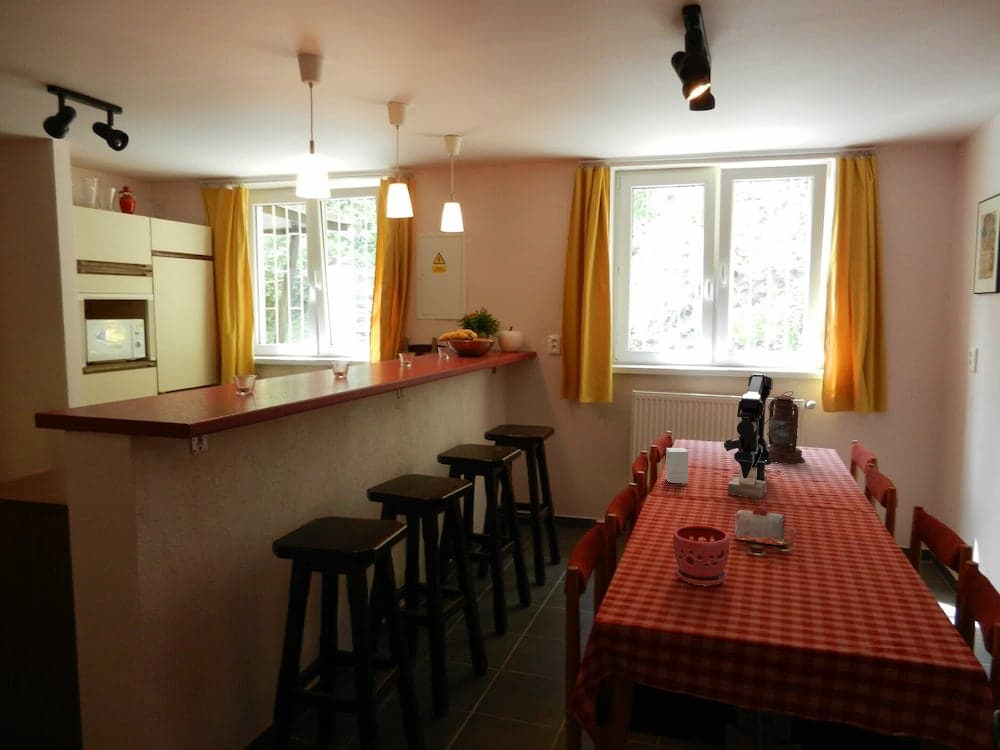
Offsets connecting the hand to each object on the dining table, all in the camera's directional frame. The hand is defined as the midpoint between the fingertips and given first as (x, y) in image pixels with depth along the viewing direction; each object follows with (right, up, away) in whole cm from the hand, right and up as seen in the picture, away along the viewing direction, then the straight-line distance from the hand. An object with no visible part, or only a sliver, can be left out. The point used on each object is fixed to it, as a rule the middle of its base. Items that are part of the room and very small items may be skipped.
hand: (747, 475), depth 246 cm
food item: (-15, -12, -49) cm, 53 cm away
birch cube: (0, -3, 0) cm, 2 cm away
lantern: (+35, -1, +56) cm, 66 cm away
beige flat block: (0, -7, +1) cm, 6 cm away
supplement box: (-21, -5, +16) cm, 27 cm away
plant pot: (-40, -14, -78) cm, 89 cm away
